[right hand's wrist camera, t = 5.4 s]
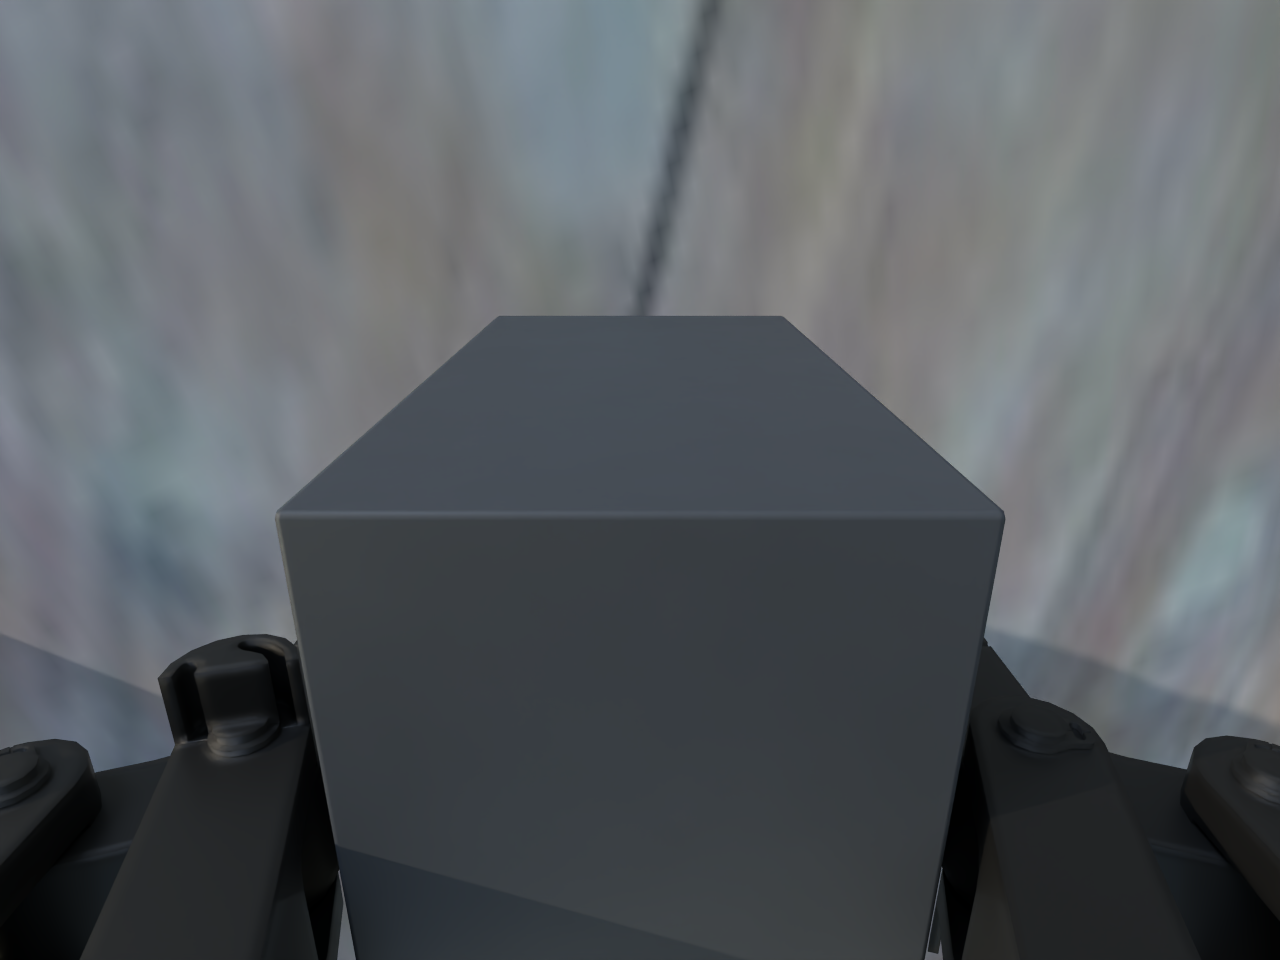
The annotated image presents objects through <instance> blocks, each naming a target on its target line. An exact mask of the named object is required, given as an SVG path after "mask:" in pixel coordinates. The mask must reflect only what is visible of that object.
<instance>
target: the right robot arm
mask: <svg viewBox="0 0 1280 960" xmlns="http://www.w3.org/2000/svg"><path fill="white" fill-rule="evenodd" d="M158 681H159V685H160V689H161V693H162V696H163V700H164V704H165V708H166V712H167V715H168V719H169V723H170V727H171V731H172V734H173V738H174V742H175V747H174V749H173V751H172V753H171V756H168V757H165V758H161V759H157V760H154V761H149V762H144V763H139V764H134V765H130V766H125V767H120V768H115V769H110V770H106V771H101V772H96V773H95V772H94V769H93V766H92V763H91V760H90V756H89V753H88V751H87V750H86V749H85V748H83V747H82V746H81V745H80V744H78V743H77V742H74V741H67V740H59V739H50V740H43V741H35V742H27V743H23V744H19V745H15V746H13V747H11V748H10V747H8V748H5V749H2V750H0V960H337V955H338V946H339V937H340V928H341V919H342V910H343V898H342V891H341V885H340V880H339V874H338V871H339V864H338V858H337V853H336V848H335V842H334V837H333V831H332V826H331V820H330V815H329V809H328V804H327V799H326V793H325V788H324V782H323V777H322V771H321V766H320V761H319V755H318V750H317V744H316V739H315V733H314V728H313V722H312V717H311V712H310V706H309V701H308V695H307V690H306V684H305V679H304V673H303V668H302V663H301V657H300V652H299V646H298V641H296V642H295V644H294V645H293V644H292V643H291V642H290V641H288V640H287V639H286V638H282V637H277V636H273V635H268V634H258V635H241V636H236V637H231V638H227V639H222V640H217V641H215V642H212V643H209V644H207V645H204V646H202V647H199V648H197V649H194V650H192V651H190V652H188V653H187V654H185V655H184V656H182V657H181V658H179V659H177V660H176V661H174V662H173V663H171V664H170V665H169V666H168V667H167V668H166V670H165V671H164V672H163V673H162V674H161V675H160V676H159V678H158ZM942 868H943V869H942V874H941V880H940V885H939V890H938V896H937V901H936V907H935V912H934V917H933V923H932V928H931V934H930V940H929V947H928V952H933V953H937V954H938V952H939V946H940V941H941V944H942V953H943V960H1280V746H1278V745H1275V744H1269V743H1268V742H1265V741H1260V740H1256V739H1249V738H1242V737H1234V736H1220V737H1213V738H1206V739H1204V740H1203V741H1202V742H1200V743H1199V744H1198V745H1197V746H1195V747H1194V749H1193V752H1192V756H1191V759H1190V762H1189V765H1188V768H1187V770H1186V769H1181V768H1177V767H1172V766H1167V765H1162V764H1157V763H1152V762H1148V761H1143V760H1138V759H1133V758H1128V757H1124V756H1121V755H1117V754H1113V753H1110V752H1108V750H1107V747H1106V745H1105V743H1104V742H1103V741H1102V739H1101V738H1100V737H1099V735H1098V734H1097V733H1096V731H1095V730H1094V729H1093V728H1092V727H1091V726H1090V725H1088V724H1087V723H1086V722H1084V721H1083V720H1081V719H1080V718H1079V717H1077V716H1076V715H1075V714H1073V713H1071V712H1069V711H1067V710H1065V709H1062V708H1060V707H1058V706H1056V705H1053V704H1051V703H1049V702H1045V701H1041V700H1037V699H1033V698H1030V697H1029V695H1028V694H1027V693H1026V692H1025V690H1024V689H1023V688H1022V686H1021V685H1020V684H1019V682H1018V681H1017V680H1016V679H1015V677H1014V676H1013V675H1012V673H1011V672H1010V671H1009V669H1008V668H1007V667H1006V666H1005V664H1004V663H1003V662H1002V660H1001V659H1000V658H999V656H998V655H997V654H996V653H995V651H994V650H993V649H992V647H988V645H987V641H986V640H985V638H983V644H982V649H981V655H980V660H979V665H978V671H977V676H976V682H975V687H974V693H973V698H972V703H971V709H970V714H969V720H968V725H967V731H966V736H965V742H964V747H963V752H962V758H961V763H960V769H959V774H958V780H957V785H956V791H955V796H954V801H953V807H952V812H951V818H950V823H949V829H948V834H947V840H946V845H945V850H944V856H943V861H942Z"/></svg>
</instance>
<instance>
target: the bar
mask: <svg viewBox="0 0 1280 960" xmlns="http://www.w3.org/2000/svg"><path fill="white" fill-rule="evenodd" d="M275 521H276V527H277V532H278V537H279V543H280V548H281V554H282V559H283V565H284V570H285V576H286V581H287V586H288V592H289V597H290V603H291V608H292V614H293V619H294V625H295V630H296V635H297V641H298V646H299V652H300V657H301V663H302V668H303V673H304V679H305V684H306V690H307V695H308V701H309V706H310V712H311V717H312V722H313V728H314V733H315V739H316V744H317V750H318V755H319V761H320V766H321V771H322V777H323V782H324V788H325V793H326V799H327V804H328V809H329V815H330V820H331V826H332V831H333V837H334V842H335V848H336V853H337V858H338V864H339V869H340V875H341V880H342V886H343V891H344V897H345V902H346V907H347V913H348V918H349V924H350V929H351V935H352V940H353V945H354V951H355V956H356V960H924V959H925V954H926V948H927V943H928V937H929V932H930V927H931V921H932V916H933V910H934V905H935V899H936V894H937V888H938V883H939V878H940V872H941V867H942V861H943V856H944V850H945V845H946V840H947V834H948V829H949V823H950V818H951V812H952V807H953V801H954V796H955V791H956V785H957V780H958V774H959V769H960V763H961V758H962V752H963V747H964V742H965V736H966V731H967V725H968V720H969V714H970V709H971V703H972V698H973V693H974V687H975V682H976V676H977V671H978V665H979V660H980V655H981V649H982V644H983V638H984V633H985V627H986V622H987V616H988V611H989V606H990V600H991V595H992V589H993V584H994V578H995V573H996V567H997V562H998V557H999V551H1000V546H1001V540H1002V535H1003V529H1004V524H1005V515H1004V511H1003V510H1002V509H1001V508H999V507H998V506H997V505H996V504H995V503H994V502H993V501H991V500H990V499H989V498H988V497H987V496H986V495H985V494H984V493H982V492H981V491H980V490H979V489H978V488H977V487H976V486H974V485H973V484H972V483H971V482H970V481H969V480H968V479H967V478H965V477H964V476H963V475H962V474H961V473H960V472H959V471H957V470H956V469H955V468H954V467H953V466H952V465H951V464H950V463H948V462H947V461H946V460H945V459H944V458H943V457H942V456H940V455H939V454H938V453H937V452H936V451H935V450H934V449H933V448H931V447H930V446H929V445H928V444H927V443H926V442H925V441H923V440H922V439H921V438H920V437H919V436H918V435H917V434H916V433H914V432H913V431H912V430H911V429H910V428H909V427H908V426H907V425H905V424H904V423H903V422H902V421H901V420H900V419H899V418H897V417H896V416H895V415H894V414H893V413H892V412H891V411H890V410H888V409H887V408H886V407H885V406H884V405H883V404H882V403H880V402H879V401H878V400H877V399H876V398H875V397H874V396H873V395H871V394H870V393H869V392H868V391H867V390H866V389H865V388H863V387H862V386H861V385H860V384H859V383H858V382H857V381H856V380H854V379H853V378H852V377H851V376H850V375H849V374H848V373H846V372H845V371H844V370H843V369H842V368H841V367H840V366H839V365H837V364H836V363H835V362H834V361H833V360H832V359H831V358H829V357H828V356H827V355H826V354H825V353H824V352H823V351H822V350H820V349H819V348H818V347H817V346H816V345H815V344H814V343H812V342H811V341H810V340H809V339H808V338H807V337H806V336H805V335H803V334H802V333H801V332H800V331H799V330H798V329H797V328H795V327H794V326H793V325H792V324H791V323H790V322H789V321H788V320H786V319H785V318H784V317H782V316H499V317H497V318H496V319H495V320H493V321H492V322H491V323H490V324H489V325H488V326H487V327H485V328H484V329H483V330H482V331H481V332H480V333H479V334H477V335H476V336H475V337H474V338H473V339H472V340H471V341H470V342H468V343H467V344H466V345H465V346H464V347H463V348H462V349H460V350H459V351H458V352H457V353H456V354H455V355H454V356H452V357H451V358H450V359H449V360H448V361H447V362H446V363H445V364H443V365H442V366H441V367H440V368H439V369H438V370H437V371H435V372H434V373H433V374H432V375H431V376H430V377H429V378H427V379H426V380H425V381H424V382H423V383H422V384H421V385H420V386H418V387H417V388H416V389H415V390H414V391H413V392H412V393H410V394H409V395H408V396H407V397H406V398H405V399H404V400H402V401H401V402H400V403H399V404H398V405H397V406H396V407H395V408H393V409H392V410H391V411H390V412H389V413H388V414H387V415H385V416H384V417H383V418H382V419H381V420H380V421H379V422H378V423H376V424H375V425H374V426H373V427H372V428H371V429H370V430H368V431H367V432H366V433H365V434H364V435H363V436H362V437H360V438H359V439H358V440H357V441H356V442H355V443H354V444H353V445H351V446H350V447H349V448H348V449H347V450H346V451H345V452H343V453H342V454H341V455H340V456H339V457H338V458H337V459H335V460H334V461H333V462H332V463H331V464H330V465H329V466H328V467H326V468H325V469H324V470H323V471H322V472H321V473H320V474H318V475H317V476H316V477H315V478H314V479H313V480H312V481H310V482H309V483H308V484H307V485H306V486H305V487H304V488H303V489H301V490H300V491H299V492H298V493H297V494H296V495H295V496H293V497H292V498H291V499H290V500H289V501H288V502H287V503H285V504H284V505H283V506H282V507H281V508H280V509H279V510H278V511H277V513H276V517H275Z"/></svg>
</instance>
